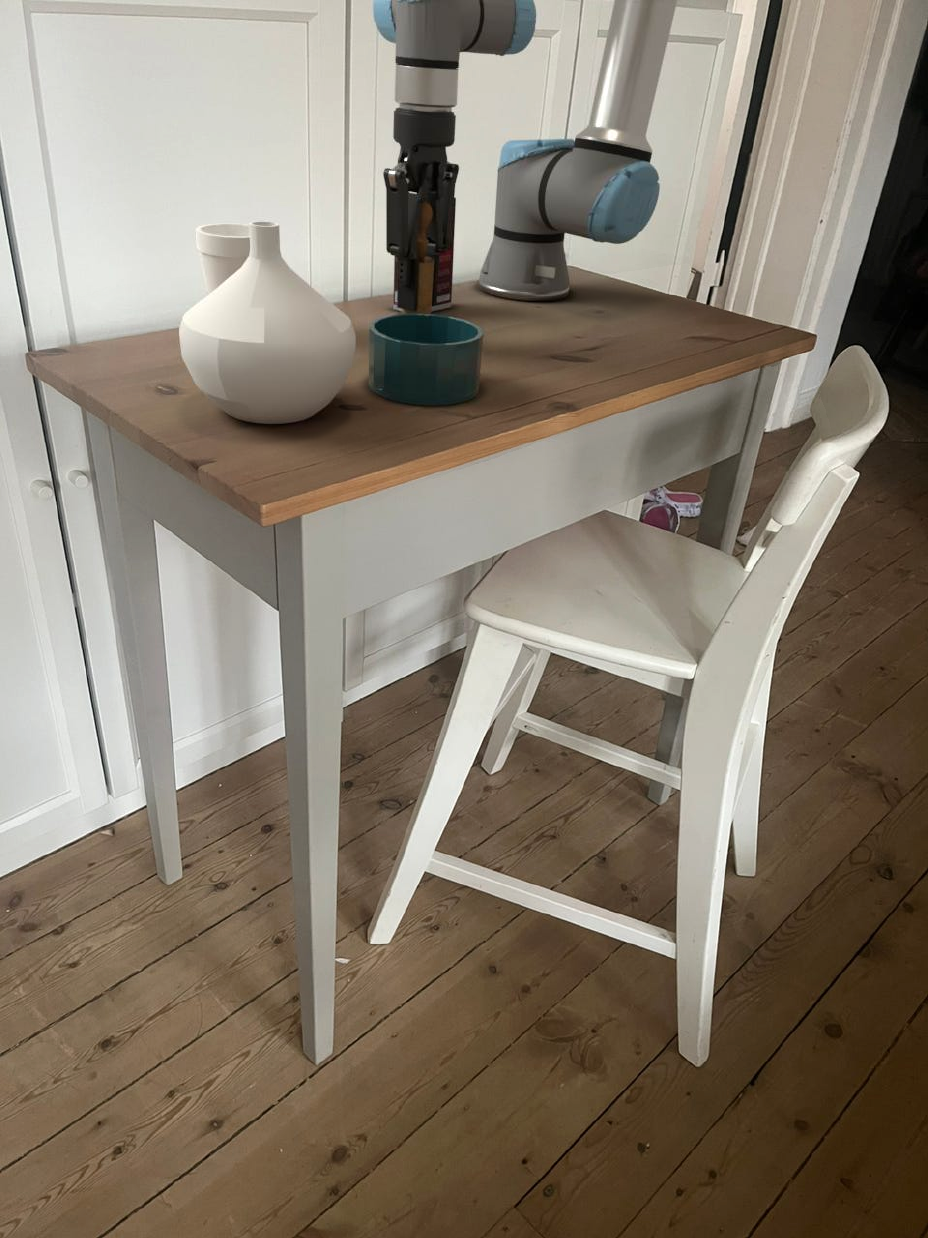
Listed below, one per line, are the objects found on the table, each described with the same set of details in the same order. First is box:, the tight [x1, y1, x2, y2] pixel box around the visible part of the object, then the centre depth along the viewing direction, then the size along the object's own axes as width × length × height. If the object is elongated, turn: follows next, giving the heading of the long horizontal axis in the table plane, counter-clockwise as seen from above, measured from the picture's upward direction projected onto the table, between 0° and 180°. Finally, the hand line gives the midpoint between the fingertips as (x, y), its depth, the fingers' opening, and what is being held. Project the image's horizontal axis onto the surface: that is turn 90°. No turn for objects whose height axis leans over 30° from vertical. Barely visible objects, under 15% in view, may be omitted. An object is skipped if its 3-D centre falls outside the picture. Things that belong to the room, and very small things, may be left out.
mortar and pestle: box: [401, 202, 434, 314], centre depth 124 cm, size 7×6×18 cm
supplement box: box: [392, 196, 457, 313], centre depth 141 cm, size 9×5×16 cm, turn 139°
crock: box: [368, 313, 484, 407], centre depth 112 cm, size 13×13×7 cm
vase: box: [178, 220, 357, 425], centre depth 99 cm, size 18×18×19 cm
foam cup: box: [194, 222, 250, 296], centre depth 125 cm, size 10×9×13 cm
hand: (417, 305), depth 126 cm, fingers closed on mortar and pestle, 4 cm apart
